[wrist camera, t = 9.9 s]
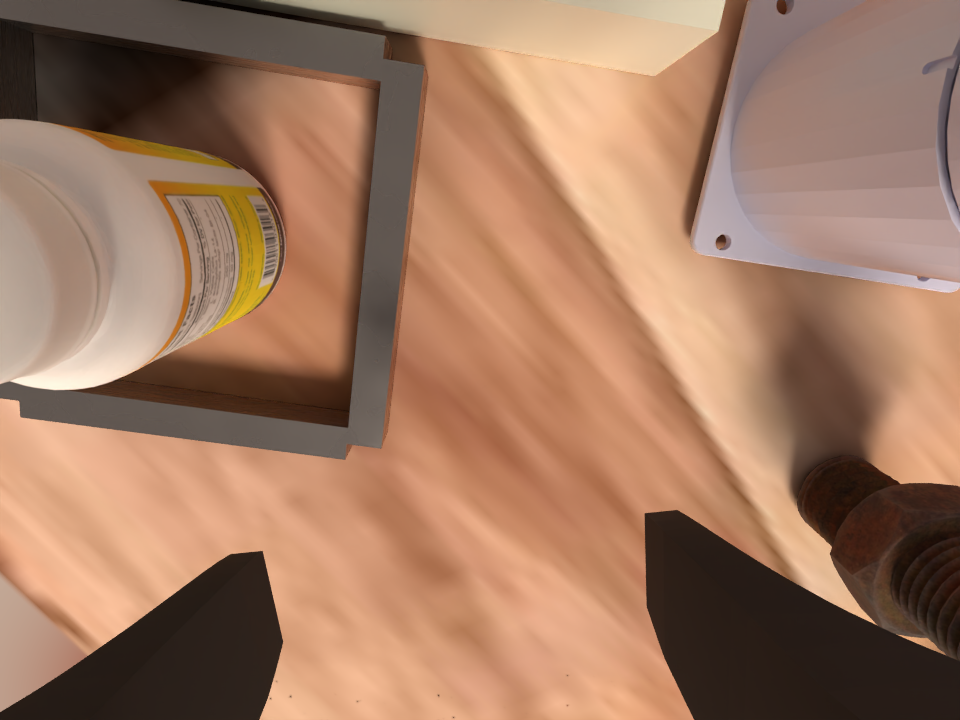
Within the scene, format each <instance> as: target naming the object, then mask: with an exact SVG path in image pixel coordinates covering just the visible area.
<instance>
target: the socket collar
mask: <svg viewBox="0 0 960 720" xmlns="http://www.w3.org/2000/svg"><path fill="white" fill-rule="evenodd" d="M32 32H33V33H39V34H45V35H51V36H57V37H63V38H69V39H75V40H81V41H88V42H94V43H100V44H106V45H112V46H118V47H124V48H130V49H136V50H142V51H148V52H154V53H160V54H166V55H172V56H178V57H184V58H191V59H197V60H203V61H209V62H215V63H221V64H227V65H233V66H239V67H245V68H251V69H257V70H263V71H269V72H275V73H281V74H287V75H293V76H300V77H306V78H312V79H318V80H324V81H330V82H336V83H342V84H348V85H354V86H360V87H366V88H372V89H378V90H380V96H379V107H378V117H377V128H376V139H375V149H374V160H373V170H372V181H371V191H370V202H369V213H368V223H367V234H366V244H365V255H364V266H363V276H362V287H361V297H360V308H359V319H358V329H357V340H356V350H355V361H354V372H353V382H352V393H351V403H350V411H342V410H335V409H328V408H320V407H313V406H305V405H298V404H291V403H283V402H276V401H268V400H261V399H254V398H246V397H239V396H231V395H224V394H217V393H209V392H202V391H194V390H187V389H180V388H172V387H165V386H157V385H150V384H143V383H135V382H128V381H121V380H114V381H111V382H108V383H105V384H102V385H99V386H95V387H90V388H83V389H75V390H50V389H42V388H34V387H30V386H25V385H21V384H18V383H14V382H11V381H9V382H5V383H2V384H0V398H3V399H10V400H18V401H19V402H20V416H21V417H22V418H30V419H38V420H45V421H53V422H61V423H68V424H76V425H84V426H91V427H99V428H107V429H114V430H122V431H129V432H137V433H145V434H152V435H160V436H168V437H175V438H183V439H191V440H198V441H206V442H214V443H221V444H229V445H237V446H244V447H252V448H259V449H267V450H275V451H282V452H290V453H298V454H305V455H313V456H321V457H328V458H336V459H344V460H345V459H346V457H347V455H348V453H349V451H350V449H351V447H352V445H358V446H366V447H373V448H382V445H383V443H384V440H385V437H386V435H387V432H388V424H389V415H390V406H391V397H392V389H393V380H394V371H395V363H396V354H397V345H398V336H399V328H400V319H401V310H402V301H403V293H404V284H405V275H406V267H407V258H408V249H409V240H410V232H411V223H412V214H413V205H414V197H415V188H416V179H417V171H418V162H419V153H420V144H421V136H422V127H423V118H424V109H425V101H426V92H427V83H428V75H427V72H426V69H425V66H424V65H418V64H412V63H406V62H400V61H394V60H391V59H392V48H391V46H390V44H389V42H388V40H387V38H386V36H384V35H378V34H372V33H366V32H360V31H355V30H349V29H343V28H337V27H331V26H325V25H319V24H313V23H308V22H302V21H296V20H290V19H284V18H278V17H272V16H266V15H261V14H255V13H249V12H243V11H237V10H231V9H225V8H219V7H214V6H208V5H202V4H196V3H190V2H184V1H178V0H0V119H20V120H31V121H37V109H36V91H35V73H34V55H33V36H32Z"/></svg>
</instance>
